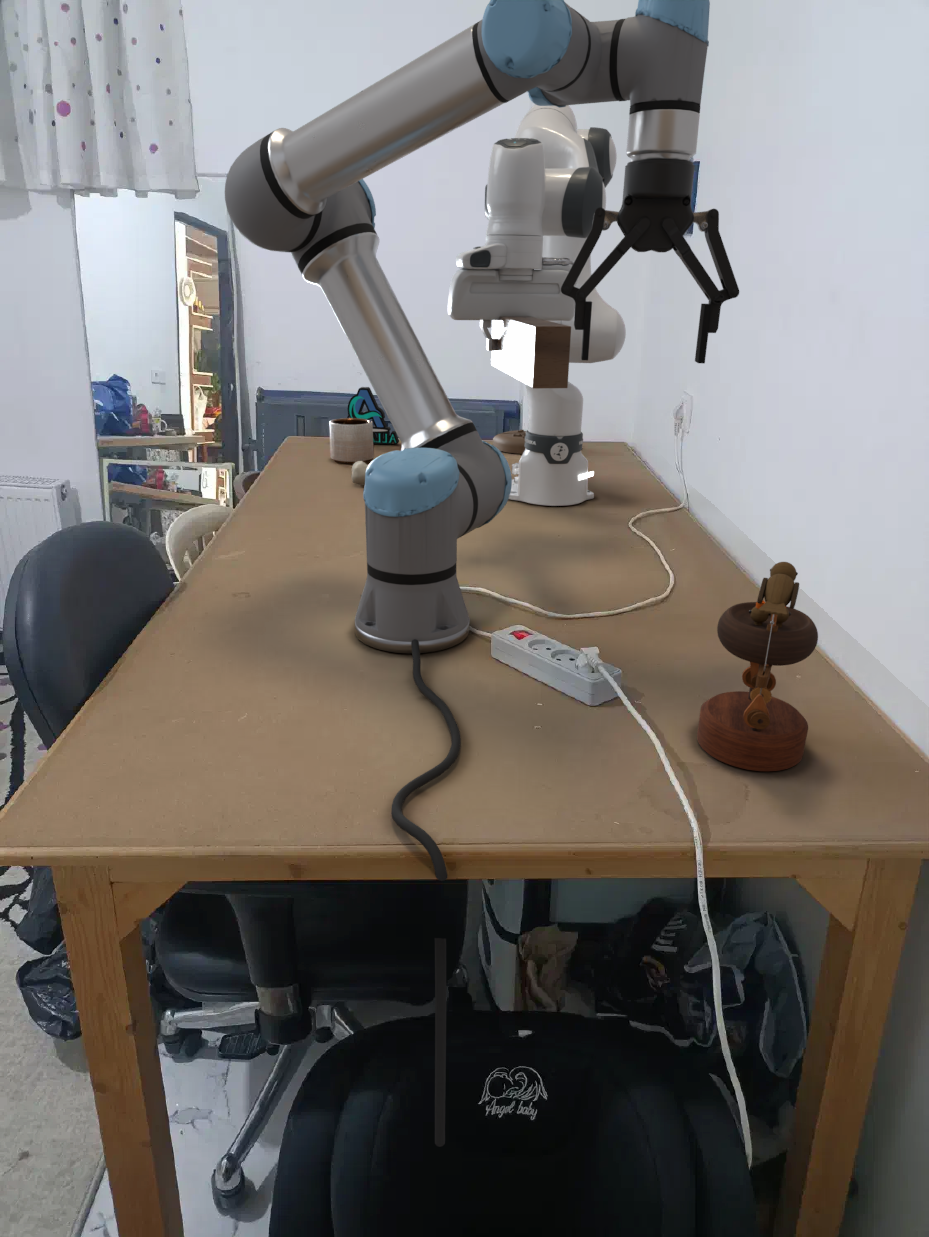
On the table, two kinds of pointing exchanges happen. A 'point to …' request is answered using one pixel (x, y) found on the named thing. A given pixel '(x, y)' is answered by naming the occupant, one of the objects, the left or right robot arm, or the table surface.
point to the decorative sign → (371, 416)
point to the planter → (351, 440)
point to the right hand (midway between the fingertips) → (510, 350)
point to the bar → (532, 350)
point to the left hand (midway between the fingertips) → (641, 361)
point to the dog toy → (359, 472)
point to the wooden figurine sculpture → (760, 680)
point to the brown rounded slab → (510, 441)
